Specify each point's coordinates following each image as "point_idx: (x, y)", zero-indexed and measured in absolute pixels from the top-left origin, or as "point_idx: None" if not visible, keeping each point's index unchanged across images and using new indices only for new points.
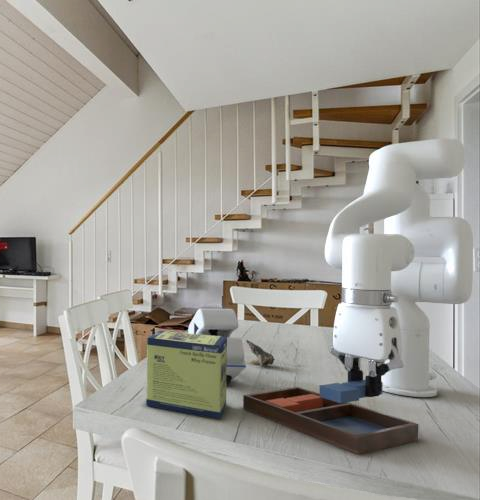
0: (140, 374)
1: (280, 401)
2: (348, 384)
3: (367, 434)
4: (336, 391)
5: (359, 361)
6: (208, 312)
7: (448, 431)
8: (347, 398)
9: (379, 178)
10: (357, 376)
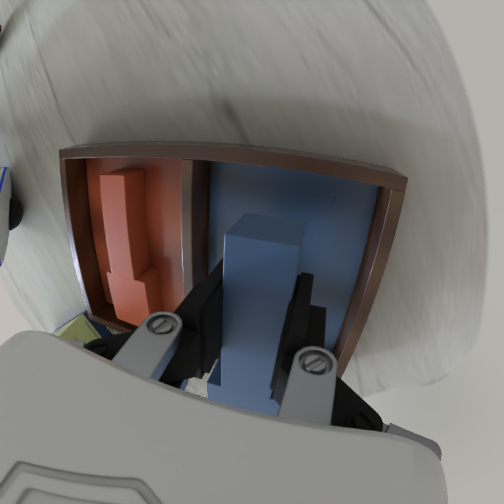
0: (2, 272)
1: (125, 302)
2: (244, 395)
3: (342, 368)
4: None
5: (163, 363)
6: None
7: (396, 18)
8: None
9: None
10: (214, 336)
